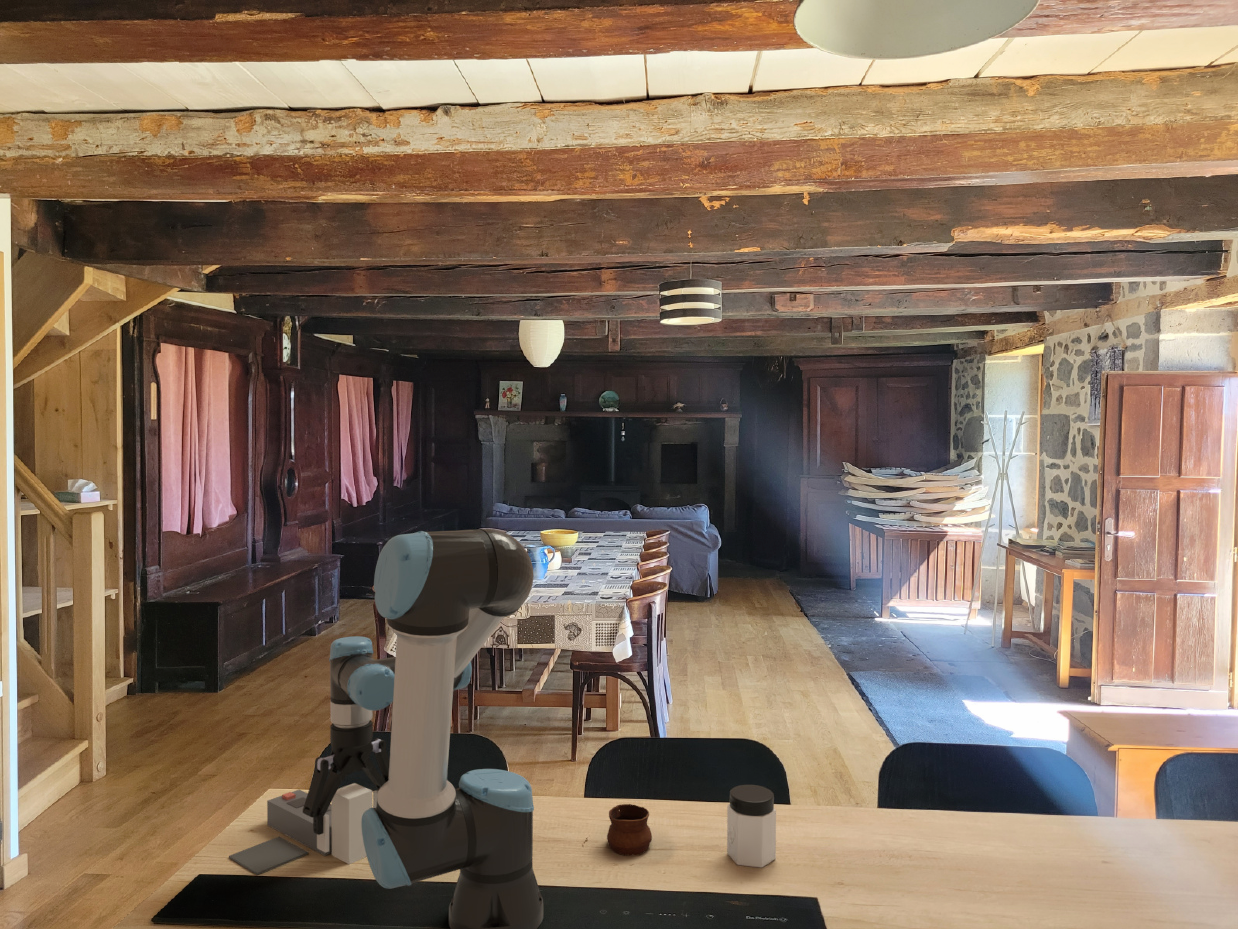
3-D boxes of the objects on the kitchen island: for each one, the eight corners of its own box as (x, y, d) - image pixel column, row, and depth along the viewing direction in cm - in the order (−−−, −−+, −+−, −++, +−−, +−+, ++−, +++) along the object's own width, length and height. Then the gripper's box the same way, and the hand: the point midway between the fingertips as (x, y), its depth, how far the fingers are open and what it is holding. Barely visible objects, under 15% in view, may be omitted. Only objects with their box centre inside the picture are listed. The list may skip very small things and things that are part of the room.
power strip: (357, 842, 164) (356, 813, 164) (324, 855, 158) (324, 826, 158) (299, 813, 176) (299, 786, 176) (267, 825, 171) (267, 797, 171)
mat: (308, 854, 159) (308, 852, 159) (257, 875, 151) (257, 873, 151) (279, 838, 165) (279, 836, 165) (228, 858, 157) (228, 856, 157)
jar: (721, 848, 162) (721, 786, 162) (759, 843, 165) (760, 781, 164) (741, 871, 154) (742, 805, 153) (782, 865, 156) (782, 800, 156)
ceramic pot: (566, 858, 158) (568, 821, 158) (603, 820, 175) (604, 786, 175) (658, 879, 152) (660, 840, 151) (688, 838, 168) (689, 802, 168)
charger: (372, 854, 159) (372, 790, 159) (349, 864, 155) (348, 799, 155) (345, 840, 165) (345, 779, 164) (322, 850, 161) (322, 787, 160)
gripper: (392, 702, 170) (392, 810, 171) (281, 734, 151) (281, 855, 152) (416, 710, 165) (416, 821, 166) (304, 743, 147) (305, 869, 147)
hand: (352, 837), depth 159 cm, fingers open, 11 cm apart
